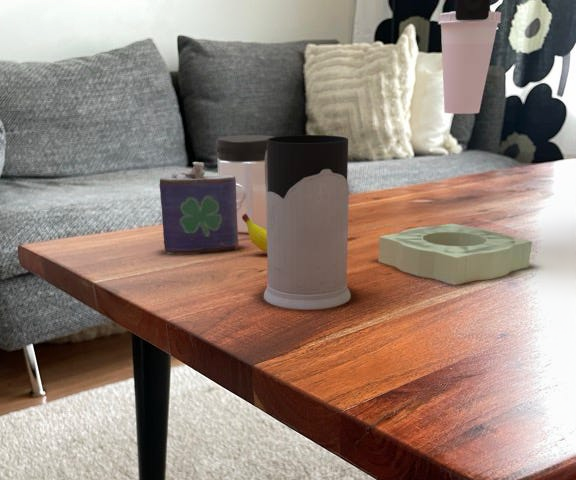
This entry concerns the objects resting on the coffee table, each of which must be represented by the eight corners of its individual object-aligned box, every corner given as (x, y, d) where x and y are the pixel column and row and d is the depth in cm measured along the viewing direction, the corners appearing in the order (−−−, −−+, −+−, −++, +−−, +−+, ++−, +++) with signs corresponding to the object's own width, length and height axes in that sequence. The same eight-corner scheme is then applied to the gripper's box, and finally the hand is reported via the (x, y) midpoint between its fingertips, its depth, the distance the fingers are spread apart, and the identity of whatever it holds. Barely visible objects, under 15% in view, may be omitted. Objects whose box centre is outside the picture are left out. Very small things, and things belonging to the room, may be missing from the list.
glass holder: (285, 314, 67) (283, 146, 61) (232, 276, 79) (226, 132, 73) (366, 302, 70) (373, 140, 64) (304, 267, 82) (304, 128, 76)
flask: (236, 245, 92) (233, 158, 87) (240, 251, 89) (237, 161, 85) (163, 250, 90) (156, 161, 85) (165, 256, 87) (158, 164, 83)
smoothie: (500, 114, 76) (516, -39, 70) (440, 115, 76) (451, -39, 70) (481, 109, 82) (494, -32, 76) (425, 110, 81) (434, -32, 75)
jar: (207, 231, 100) (202, 140, 95) (232, 219, 107) (229, 134, 102) (267, 235, 97) (265, 142, 92) (289, 223, 104) (288, 135, 99)
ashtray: (449, 245, 91) (451, 221, 90) (537, 267, 81) (540, 241, 80) (370, 261, 84) (371, 236, 83) (455, 288, 74) (457, 259, 73)
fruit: (242, 257, 86) (240, 215, 84) (243, 252, 88) (242, 211, 86) (327, 257, 86) (327, 215, 84) (326, 253, 88) (327, 211, 86)
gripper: (542, -228, 59) (515, 16, 67) (519, -170, 75) (499, 24, 82) (449, -222, 60) (433, 18, 68) (445, -165, 76) (432, 25, 83)
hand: (469, 19), depth 75 cm, fingers closed on smoothie, 6 cm apart
